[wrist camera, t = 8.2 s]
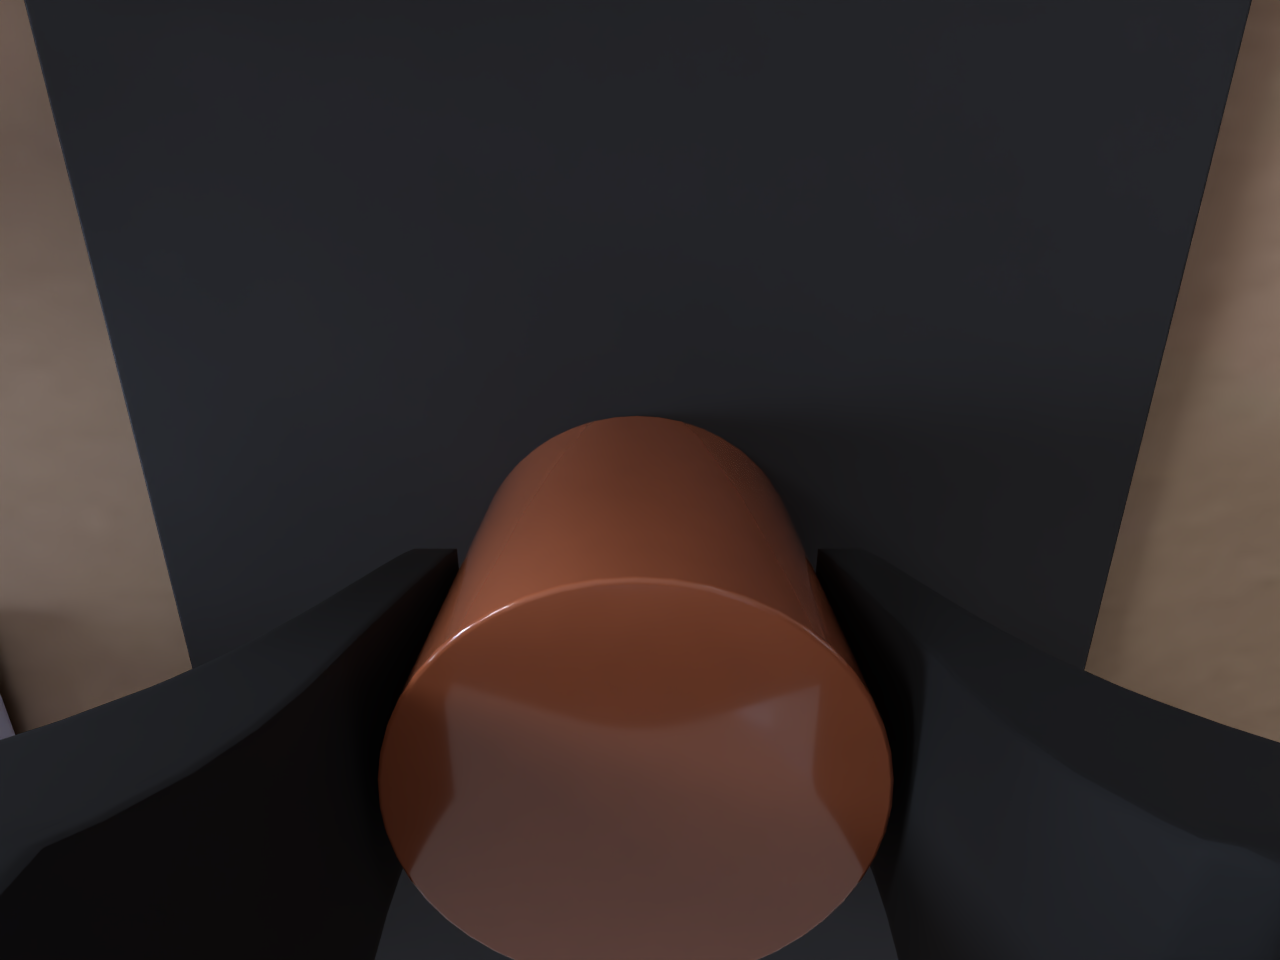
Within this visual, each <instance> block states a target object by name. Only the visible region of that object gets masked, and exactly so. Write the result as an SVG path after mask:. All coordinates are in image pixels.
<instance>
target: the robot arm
mask: <svg viewBox="0 0 1280 960" xmlns="http://www.w3.org/2000/svg"><path fill="white" fill-rule="evenodd" d="M458 571H459V564H458V554H457V549H412V550H410V551H407V552H405V553H403V554H401V555H399V556H397V557H396V558H394V559H392V560H390V561H388V562H387V563H385V564H383V565H382V566H380V567H378V568H377V569H375V570H373V571H372V572H370V573H368V574H367V575H365V576H364V577H362V578H360V579H359V580H357V581H355V582H354V583H352V584H350V585H349V586H347V587H345V588H344V589H342V590H341V591H339V592H337V593H336V594H334V595H332V596H331V597H329V598H327V599H326V600H324V601H322V602H321V603H319V604H317V605H316V606H314V607H312V608H310V609H309V610H307V611H305V612H303V613H301V614H299V615H298V616H296V617H294V618H292V619H290V620H289V621H287V622H285V623H283V624H281V625H280V626H278V627H276V628H274V629H272V630H270V631H269V632H267V633H265V634H263V635H261V636H260V637H258V638H256V639H254V640H252V641H250V642H248V643H246V644H244V645H242V646H240V647H239V648H237V649H235V650H233V651H230V652H228V653H226V654H224V655H222V656H220V657H218V658H216V659H214V660H212V661H209V662H207V663H205V664H203V665H200V666H198V667H196V668H194V669H191V670H189V671H187V672H185V673H182V674H180V675H178V676H176V677H173V678H171V679H169V680H166V681H164V682H162V683H159V684H157V685H154V686H152V687H150V688H147V689H144V690H141V691H139V692H136V693H133V694H131V695H128V696H125V697H123V698H120V699H117V700H114V701H112V702H109V703H106V704H104V705H101V706H98V707H96V708H93V709H90V710H88V711H85V712H82V713H79V714H77V715H74V716H71V717H69V718H66V719H63V720H60V721H58V722H55V723H52V724H49V725H46V726H43V727H39V728H36V729H33V730H30V731H27V732H24V733H20V734H17V735H15V733H14V730H13V727H12V725H11V722H10V719H9V716H8V714H7V711H6V708H5V705H4V703H3V700H2V697H1V694H0V960H375V957H376V953H377V950H378V946H379V942H380V939H381V935H382V931H383V928H384V924H385V920H386V917H387V913H388V910H389V907H390V904H391V902H392V899H393V896H394V893H395V890H396V887H397V884H398V881H399V878H400V875H401V873H402V870H403V867H402V866H401V864H400V862H399V861H398V859H397V857H396V855H395V853H394V851H393V848H392V846H391V843H390V841H389V839H388V836H387V834H386V831H385V827H384V822H383V818H382V814H381V810H380V805H379V793H378V780H377V775H378V764H379V753H380V747H381V744H382V740H383V736H384V732H385V729H386V725H387V722H388V720H389V718H390V715H391V713H392V711H393V709H394V707H395V705H396V702H397V700H398V698H399V696H400V694H401V692H402V689H403V687H404V685H405V683H406V681H407V679H408V677H409V675H410V673H411V670H412V668H413V666H414V664H415V662H416V660H417V658H418V656H419V654H420V651H421V649H422V647H423V645H424V643H425V641H426V639H427V637H428V635H429V632H430V630H431V628H432V626H433V624H434V622H435V620H436V618H437V616H438V613H439V611H440V609H441V607H442V605H443V603H444V601H445V599H446V597H447V594H448V592H449V590H450V588H451V586H452V584H453V582H454V580H455V578H456V575H457V573H458ZM816 576H817V578H818V580H819V582H820V584H821V586H822V589H823V591H824V593H825V595H826V597H827V600H828V602H829V604H830V606H831V608H832V610H833V613H834V615H835V617H836V619H837V621H838V623H839V626H840V628H841V630H842V632H843V634H844V636H845V639H846V641H847V643H848V645H849V647H850V650H851V652H852V654H853V656H854V658H855V660H856V663H857V665H858V667H859V669H860V671H861V673H862V676H863V678H864V680H865V682H866V684H867V686H868V689H869V691H870V693H871V695H872V697H873V700H874V702H875V704H876V706H877V708H878V710H879V713H880V715H881V717H882V719H883V721H884V724H885V728H886V731H887V735H888V738H889V742H890V746H891V749H892V759H893V769H894V787H893V801H892V808H891V812H890V816H889V821H888V825H887V829H886V833H885V835H884V838H883V840H882V842H881V845H880V847H879V850H878V852H877V855H876V857H875V858H874V860H873V862H872V863H871V865H870V868H871V870H872V873H873V876H874V878H875V881H876V884H877V887H878V890H879V893H880V896H881V899H882V902H883V906H884V909H885V912H886V915H887V918H888V922H889V926H890V930H891V933H892V937H893V941H894V945H895V948H896V952H897V956H898V960H1280V743H1279V742H1276V741H1273V740H1270V739H1266V738H1263V737H1260V736H1257V735H1254V734H1251V733H1248V732H1244V731H1241V730H1238V729H1235V728H1232V727H1229V726H1226V725H1223V724H1220V723H1217V722H1214V721H1211V720H1209V719H1206V718H1203V717H1200V716H1198V715H1195V714H1192V713H1189V712H1186V711H1184V710H1181V709H1178V708H1175V707H1173V706H1170V705H1167V704H1164V703H1161V702H1159V701H1156V700H1153V699H1151V698H1148V697H1146V696H1143V695H1141V694H1138V693H1135V692H1133V691H1130V690H1128V689H1125V688H1123V687H1120V686H1118V685H1116V684H1113V683H1111V682H1109V681H1106V680H1104V679H1102V678H1100V677H1097V676H1095V675H1093V674H1091V673H1088V672H1086V671H1084V670H1082V669H1079V668H1077V667H1075V666H1073V665H1070V664H1068V663H1066V662H1064V661H1061V660H1059V659H1057V658H1055V657H1053V656H1051V655H1049V654H1047V653H1045V652H1043V651H1041V650H1039V649H1037V648H1035V647H1033V646H1031V645H1029V644H1027V643H1025V642H1023V641H1021V640H1020V639H1018V638H1016V637H1014V636H1012V635H1010V634H1008V633H1006V632H1005V631H1003V630H1001V629H999V628H997V627H995V626H993V625H991V624H990V623H988V622H986V621H984V620H983V619H981V618H979V617H977V616H976V615H974V614H972V613H970V612H969V611H967V610H965V609H964V608H962V607H960V606H958V605H957V604H955V603H953V602H952V601H950V600H948V599H947V598H945V597H944V596H942V595H940V594H939V593H937V592H935V591H934V590H932V589H930V588H929V587H927V586H926V585H924V584H922V583H921V582H919V581H918V580H916V579H914V578H913V577H911V576H909V575H908V574H906V573H905V572H903V571H901V570H900V569H898V568H897V567H895V566H893V565H892V564H890V563H888V562H886V561H885V560H883V559H881V558H880V557H878V556H876V555H874V554H872V553H870V552H868V551H866V550H864V549H818V554H817V565H816Z"/></svg>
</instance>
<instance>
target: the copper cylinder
mask: <svg viewBox="0 0 1280 960" xmlns="http://www.w3.org/2000/svg"><path fill="white" fill-rule="evenodd" d="M377 780H378V793H379V805H380V810H381V814H382V818H383V822H384V827H385V831H386V834H387V836H388V839H389V841H390V843H391V846H392V848H393V851H394V853H395V855H396V857H397V859H398V861H399V862H400V864H401V866H402V867H403V869H404V871H405V872H406V874H407V876H408V877H409V879H410V880H411V882H412V883H413V884H414V885H415V886H416V888H417V889H418V890H419V891H420V893H421V894H422V895H423V896H424V898H425V899H426V900H427V901H428V902H429V903H430V904H431V905H432V906H433V907H434V908H435V909H436V910H437V911H438V912H439V913H440V914H442V915H443V916H444V917H445V918H446V919H447V920H448V921H449V922H451V923H452V924H453V925H455V926H456V927H457V928H459V929H460V930H461V931H463V932H464V933H465V934H467V935H468V936H470V937H471V938H473V939H475V940H476V941H478V942H480V943H481V944H483V945H485V946H487V947H488V948H490V949H492V950H493V951H495V952H498V953H500V954H502V955H504V956H507V957H509V958H511V959H513V960H759V959H761V958H763V957H765V956H768V955H770V954H772V953H774V952H776V951H778V950H780V949H782V948H784V947H785V946H787V945H789V944H790V943H792V942H794V941H795V940H797V939H799V938H801V937H802V936H804V935H805V934H806V933H808V932H809V931H810V930H812V929H813V928H814V927H816V926H817V925H818V924H820V923H821V922H822V921H824V920H825V919H826V918H827V917H828V916H829V915H830V914H831V913H832V912H833V911H834V910H835V909H837V908H838V907H839V906H840V905H841V904H842V903H843V902H844V901H845V900H846V899H847V897H848V896H849V895H850V894H851V892H852V891H853V890H854V889H855V887H856V886H857V885H858V884H859V882H860V881H861V880H862V878H863V877H864V875H865V873H866V872H867V870H868V868H869V867H870V865H871V863H872V862H873V860H874V858H875V857H876V855H877V852H878V850H879V847H880V845H881V842H882V840H883V838H884V835H885V833H886V829H887V825H888V821H889V816H890V812H891V808H892V801H893V787H894V769H893V759H892V749H891V746H890V742H889V738H888V735H887V731H886V728H885V724H884V721H883V719H882V717H881V715H880V713H879V710H878V708H877V706H876V704H875V702H874V700H873V697H872V695H871V693H870V691H869V689H868V686H867V684H866V682H865V680H864V678H863V676H862V673H861V671H860V669H859V667H858V665H857V663H856V660H855V658H854V656H853V654H852V652H851V650H850V647H849V645H848V643H847V641H846V639H845V636H844V634H843V632H842V630H841V628H840V626H839V623H838V621H837V619H836V617H835V615H834V613H833V610H832V608H831V606H830V604H829V602H828V600H827V597H826V595H825V593H824V591H823V589H822V586H821V584H820V582H819V580H818V578H817V576H816V573H815V571H814V569H813V567H812V565H811V563H810V560H809V558H808V556H807V554H806V552H805V550H804V547H803V545H802V543H801V541H800V539H799V536H798V534H797V532H796V530H795V528H794V526H793V523H792V521H791V519H790V517H789V515H788V513H787V510H786V508H785V506H784V504H783V502H782V500H781V497H780V495H779V494H778V492H777V491H776V489H775V487H774V486H773V484H772V483H771V481H770V480H769V478H768V477H767V476H766V475H765V474H764V473H763V471H762V470H761V469H760V468H759V467H758V466H757V465H756V463H755V462H753V461H752V460H751V459H750V458H749V457H748V456H746V455H745V454H744V453H743V452H742V451H741V450H740V449H738V448H736V447H735V446H733V445H732V444H730V443H729V442H727V441H726V440H724V439H723V438H721V437H719V436H717V435H715V434H713V433H711V432H709V431H706V430H704V429H702V428H699V427H696V426H693V425H690V424H687V423H684V422H681V421H676V420H671V419H665V418H660V417H646V416H628V417H614V418H609V419H603V420H598V421H593V422H590V423H587V424H584V425H581V426H578V427H575V428H572V429H570V430H567V431H565V432H563V433H561V434H559V435H557V436H555V437H553V438H551V439H550V440H548V441H547V442H545V443H544V444H542V445H541V446H539V447H537V448H536V449H534V450H533V451H532V452H531V453H530V454H529V455H528V456H526V457H525V458H524V459H523V460H522V461H521V462H519V463H518V465H517V466H516V467H515V468H514V469H513V470H512V471H511V473H510V474H509V475H508V476H507V477H506V478H505V480H504V481H503V483H502V484H501V486H500V488H499V489H498V491H497V492H496V494H495V495H494V497H493V499H492V502H491V504H490V506H489V508H488V510H487V512H486V514H485V516H484V518H483V521H482V523H481V525H480V527H479V529H478V531H477V533H476V535H475V537H474V540H473V542H472V544H471V546H470V548H469V550H468V552H467V554H466V556H465V559H464V561H463V563H462V565H461V567H460V569H459V571H458V573H457V575H456V578H455V580H454V582H453V584H452V586H451V588H450V590H449V592H448V594H447V597H446V599H445V601H444V603H443V605H442V607H441V609H440V611H439V613H438V616H437V618H436V620H435V622H434V624H433V626H432V628H431V630H430V632H429V635H428V637H427V639H426V641H425V643H424V645H423V647H422V649H421V651H420V654H419V656H418V658H417V660H416V662H415V664H414V666H413V668H412V670H411V673H410V675H409V677H408V679H407V681H406V683H405V685H404V687H403V689H402V692H401V694H400V696H399V698H398V700H397V702H396V705H395V707H394V709H393V711H392V713H391V715H390V718H389V720H388V722H387V725H386V729H385V732H384V736H383V740H382V744H381V747H380V753H379V764H378V775H377Z"/></svg>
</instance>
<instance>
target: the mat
mask: <svg viewBox="0 0 1280 960" xmlns="http://www.w3.org/2000/svg"><path fill="white" fill-rule="evenodd" d="M24 1H25V5H26V9H27V13H28V17H29V21H30V25H31V29H32V33H33V37H34V41H35V45H36V49H37V53H38V57H39V61H40V65H41V69H42V73H43V77H44V81H45V85H46V89H47V93H48V97H49V101H50V105H51V109H52V113H53V117H54V121H55V125H56V129H57V132H58V136H59V140H60V144H61V148H62V152H63V156H64V160H65V164H66V168H67V172H68V176H69V180H70V184H71V188H72V192H73V196H74V200H75V204H76V208H77V212H78V216H79V220H80V224H81V228H82V232H83V236H84V240H85V244H86V248H87V252H88V256H89V259H90V263H91V267H92V271H93V275H94V279H95V283H96V287H97V291H98V295H99V299H100V303H101V307H102V311H103V315H104V319H105V323H106V327H107V331H108V335H109V339H110V343H111V347H112V351H113V355H114V359H115V363H116V367H117V371H118V375H119V379H120V383H121V387H122V390H123V394H124V398H125V402H126V406H127V410H128V414H129V418H130V422H131V426H132V430H133V434H134V438H135V442H136V446H137V450H138V454H139V458H140V462H141V466H142V470H143V474H144V478H145V482H146V486H147V490H148V494H149V498H150V502H151V506H152V510H153V514H154V517H155V521H156V525H157V529H158V533H159V537H160V541H161V545H162V549H163V553H164V557H165V561H166V565H167V569H168V573H169V577H170V581H171V585H172V589H173V593H174V597H175V601H176V605H177V609H178V613H179V617H180V621H181V625H182V629H183V633H184V637H185V641H186V645H187V648H188V652H189V656H190V660H191V664H192V668H193V669H194V668H196V667H198V666H200V665H203V664H205V663H207V662H209V661H212V660H214V659H216V658H218V657H220V656H222V655H224V654H226V653H228V652H230V651H233V650H235V649H237V648H239V647H240V646H242V645H244V644H246V643H248V642H250V641H252V640H254V639H256V638H258V637H260V636H261V635H263V634H265V633H267V632H269V631H270V630H272V629H274V628H276V627H278V626H280V625H281V624H283V623H285V622H287V621H289V620H290V619H292V618H294V617H296V616H298V615H299V614H301V613H303V612H305V611H307V610H309V609H310V608H312V607H314V606H316V605H317V604H319V603H321V602H322V601H324V600H326V599H327V598H329V597H331V596H332V595H334V594H336V593H337V592H339V591H341V590H342V589H344V588H345V587H347V586H349V585H350V584H352V583H354V582H355V581H357V580H359V579H360V578H362V577H364V576H365V575H367V574H368V573H370V572H372V571H373V570H375V569H377V568H378V567H380V566H382V565H383V564H385V563H387V562H388V561H390V560H392V559H394V558H396V557H397V556H399V555H401V554H403V553H405V552H407V551H410V550H412V549H457V554H458V564H459V569H460V567H461V565H462V563H463V561H464V559H465V556H466V554H467V552H468V550H469V548H470V546H471V544H472V542H473V540H474V537H475V535H476V533H477V531H478V529H479V527H480V525H481V523H482V521H483V518H484V516H485V514H486V512H487V510H488V508H489V506H490V504H491V502H492V499H493V497H494V495H495V494H496V492H497V491H498V489H499V488H500V486H501V484H502V483H503V481H504V480H505V478H506V477H507V476H508V475H509V474H510V473H511V471H512V470H513V469H514V468H515V467H516V466H517V465H518V463H519V462H521V461H522V460H523V459H524V458H525V457H526V456H528V455H529V454H530V453H531V452H532V451H533V450H534V449H536V448H537V447H539V446H541V445H542V444H544V443H545V442H547V441H548V440H550V439H551V438H553V437H555V436H557V435H559V434H561V433H563V432H565V431H567V430H570V429H572V428H575V427H578V426H581V425H584V424H587V423H590V422H593V421H598V420H603V419H609V418H614V417H628V416H646V417H660V418H665V419H671V420H676V421H681V422H684V423H687V424H690V425H693V426H696V427H699V428H702V429H704V430H706V431H709V432H711V433H713V434H715V435H717V436H719V437H721V438H723V439H724V440H726V441H727V442H729V443H730V444H732V445H733V446H735V447H736V448H738V449H740V450H741V451H742V452H743V453H744V454H745V455H746V456H748V457H749V458H750V459H751V460H752V461H753V462H755V463H756V465H757V466H758V467H759V468H760V469H761V470H762V471H763V473H764V474H765V475H766V476H767V477H768V478H769V480H770V481H771V483H772V484H773V486H774V487H775V489H776V491H777V492H778V494H779V495H780V497H781V500H782V502H783V504H784V506H785V508H786V510H787V513H788V515H789V517H790V519H791V521H792V523H793V526H794V528H795V530H796V532H797V534H798V536H799V539H800V541H801V543H802V545H803V547H804V550H805V552H806V554H807V556H808V558H809V560H810V563H811V565H812V567H813V569H814V571H815V573H816V565H817V554H818V549H864V550H866V551H868V552H870V553H872V554H874V555H876V556H878V557H880V558H881V559H883V560H885V561H886V562H888V563H890V564H892V565H893V566H895V567H897V568H898V569H900V570H901V571H903V572H905V573H906V574H908V575H909V576H911V577H913V578H914V579H916V580H918V581H919V582H921V583H922V584H924V585H926V586H927V587H929V588H930V589H932V590H934V591H935V592H937V593H939V594H940V595H942V596H944V597H945V598H947V599H948V600H950V601H952V602H953V603H955V604H957V605H958V606H960V607H962V608H964V609H965V610H967V611H969V612H970V613H972V614H974V615H976V616H977V617H979V618H981V619H983V620H984V621H986V622H988V623H990V624H991V625H993V626H995V627H997V628H999V629H1001V630H1003V631H1005V632H1006V633H1008V634H1010V635H1012V636H1014V637H1016V638H1018V639H1020V640H1021V641H1023V642H1025V643H1027V644H1029V645H1031V646H1033V647H1035V648H1037V649H1039V650H1041V651H1043V652H1045V653H1047V654H1049V655H1051V656H1053V657H1055V658H1057V659H1059V660H1061V661H1064V662H1066V663H1068V664H1070V665H1073V666H1075V667H1077V668H1079V669H1082V670H1084V669H1085V665H1086V661H1087V657H1088V653H1089V649H1090V645H1091V641H1092V637H1093V633H1094V629H1095V625H1096V621H1097V617H1098V613H1099V609H1100V605H1101V601H1102V597H1103V593H1104V589H1105V585H1106V581H1107V577H1108V573H1109V569H1110V565H1111V561H1112V557H1113V553H1114V549H1115V545H1116V541H1117V537H1118V533H1119V529H1120V525H1121V521H1122V517H1123V513H1124V509H1125V505H1126V501H1127V497H1128V493H1129V489H1130V485H1131V481H1132V477H1133V473H1134V469H1135V465H1136V461H1137V457H1138V453H1139V449H1140V445H1141V441H1142V437H1143V433H1144V429H1145V425H1146V421H1147V417H1148V413H1149V409H1150V405H1151V401H1152V397H1153V393H1154V389H1155V385H1156V381H1157V377H1158V373H1159V369H1160V365H1161V361H1162V357H1163V353H1164V349H1165V345H1166V341H1167V337H1168V333H1169V329H1170V325H1171V321H1172V317H1173V313H1174V309H1175V305H1176V301H1177V297H1178V293H1179V289H1180V285H1181V281H1182V277H1183V273H1184V269H1185V265H1186V261H1187V257H1188V253H1189V249H1190V245H1191V241H1192V237H1193V233H1194V229H1195V225H1196V221H1197V217H1198V213H1199V209H1200V205H1201V201H1202V197H1203V193H1204V189H1205V185H1206V181H1207V177H1208V173H1209V169H1210V165H1211V161H1212V157H1213V153H1214V149H1215V145H1216V141H1217V137H1218V133H1219V129H1220V125H1221V121H1222V117H1223V113H1224V109H1225V105H1226V101H1227V97H1228V93H1229V89H1230V85H1231V81H1232V77H1233V73H1234V69H1235V65H1236V61H1237V57H1238V53H1239V49H1240V45H1241V41H1242V37H1243V33H1244V29H1245V25H1246V21H1247V17H1248V13H1249V9H1250V5H1251V1H1252V0H24ZM375 960H513V959H511V958H509V957H507V956H504V955H502V954H500V953H498V952H495V951H493V950H492V949H490V948H488V947H487V946H485V945H483V944H481V943H480V942H478V941H476V940H475V939H473V938H471V937H470V936H468V935H467V934H465V933H464V932H463V931H461V930H460V929H459V928H457V927H456V926H455V925H453V924H452V923H451V922H449V921H448V920H447V919H446V918H445V917H444V916H443V915H442V914H440V913H439V912H438V911H437V910H436V909H435V908H434V907H433V906H432V905H431V904H430V903H429V902H428V901H427V900H426V899H425V898H424V896H423V895H422V894H421V893H420V891H419V890H418V889H417V888H416V886H415V885H414V884H413V883H412V882H411V880H410V879H409V877H408V876H407V874H406V872H405V871H404V869H403V870H402V873H401V875H400V878H399V881H398V884H397V887H396V890H395V893H394V896H393V899H392V902H391V904H390V907H389V910H388V913H387V917H386V920H385V924H384V928H383V931H382V935H381V939H380V942H379V946H378V950H377V953H376V957H375ZM759 960H898V956H897V952H896V948H895V945H894V941H893V937H892V933H891V930H890V926H889V922H888V918H887V915H886V912H885V909H884V906H883V902H882V899H881V896H880V893H879V890H878V887H877V884H876V881H875V878H874V876H873V873H872V870H871V868H870V867H869V868H868V870H867V872H866V873H865V875H864V877H863V878H862V880H861V881H860V882H859V884H858V885H857V886H856V887H855V889H854V890H853V891H852V892H851V894H850V895H849V896H848V897H847V899H846V900H845V901H844V902H843V903H842V904H841V905H840V906H839V907H838V908H837V909H835V910H834V911H833V912H832V913H831V914H830V915H829V916H828V917H827V918H826V919H825V920H824V921H822V922H821V923H820V924H818V925H817V926H816V927H814V928H813V929H812V930H810V931H809V932H808V933H806V934H805V935H804V936H802V937H801V938H799V939H797V940H795V941H794V942H792V943H790V944H789V945H787V946H785V947H784V948H782V949H780V950H778V951H776V952H774V953H772V954H770V955H768V956H765V957H763V958H761V959H759Z"/></svg>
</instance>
